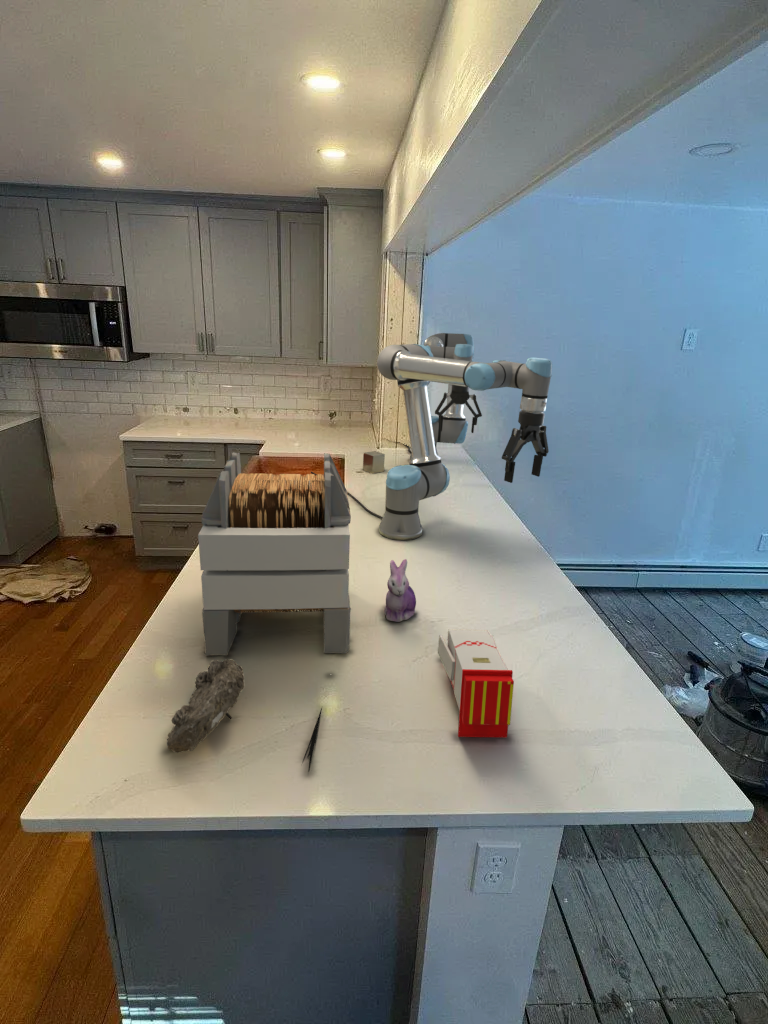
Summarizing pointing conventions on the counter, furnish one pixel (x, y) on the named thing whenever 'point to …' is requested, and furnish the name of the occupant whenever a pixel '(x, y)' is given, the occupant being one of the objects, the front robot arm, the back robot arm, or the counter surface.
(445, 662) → the toy
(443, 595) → the counter surface
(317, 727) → the feather
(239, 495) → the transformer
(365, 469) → the grey beige block
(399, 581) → the figurine
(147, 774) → the counter surface
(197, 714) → the fossil
